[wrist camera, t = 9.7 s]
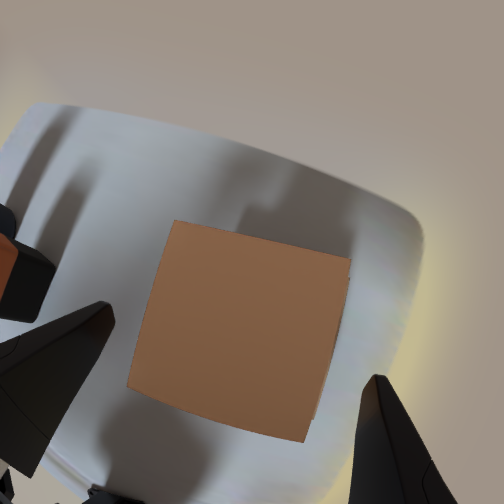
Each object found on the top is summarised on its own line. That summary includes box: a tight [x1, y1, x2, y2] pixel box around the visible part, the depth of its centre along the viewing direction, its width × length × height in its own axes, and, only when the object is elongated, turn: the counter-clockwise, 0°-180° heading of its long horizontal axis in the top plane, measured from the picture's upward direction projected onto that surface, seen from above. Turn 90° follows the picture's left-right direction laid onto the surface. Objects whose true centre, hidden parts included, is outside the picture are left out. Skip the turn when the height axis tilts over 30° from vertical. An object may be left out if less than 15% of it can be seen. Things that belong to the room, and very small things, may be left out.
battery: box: [0, 233, 55, 323], centre depth 19 cm, size 4×7×10 cm, turn 154°
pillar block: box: [127, 220, 351, 443], centre depth 12 cm, size 5×5×10 cm
